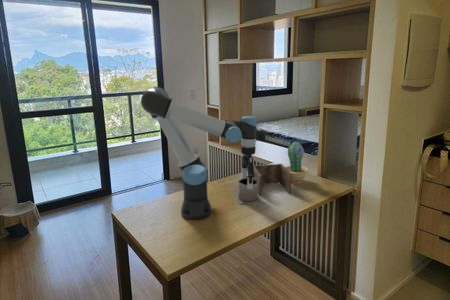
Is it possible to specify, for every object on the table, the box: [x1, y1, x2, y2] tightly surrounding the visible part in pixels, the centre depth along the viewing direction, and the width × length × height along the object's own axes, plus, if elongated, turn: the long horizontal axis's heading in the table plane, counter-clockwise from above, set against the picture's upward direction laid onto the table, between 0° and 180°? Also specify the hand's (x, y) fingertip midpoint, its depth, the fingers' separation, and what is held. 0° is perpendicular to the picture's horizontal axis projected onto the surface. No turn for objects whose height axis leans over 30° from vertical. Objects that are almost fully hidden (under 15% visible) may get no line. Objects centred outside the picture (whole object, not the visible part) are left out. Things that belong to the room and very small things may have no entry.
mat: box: [235, 193, 262, 205], centre depth 172 cm, size 12×12×1 cm
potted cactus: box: [284, 141, 309, 185], centre depth 193 cm, size 15×15×25 cm
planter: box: [237, 178, 259, 202], centre depth 171 cm, size 11×11×10 cm
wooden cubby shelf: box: [253, 163, 292, 197], centre depth 183 cm, size 18×18×12 cm
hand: (247, 184), depth 170 cm, fingers open, 13 cm apart
